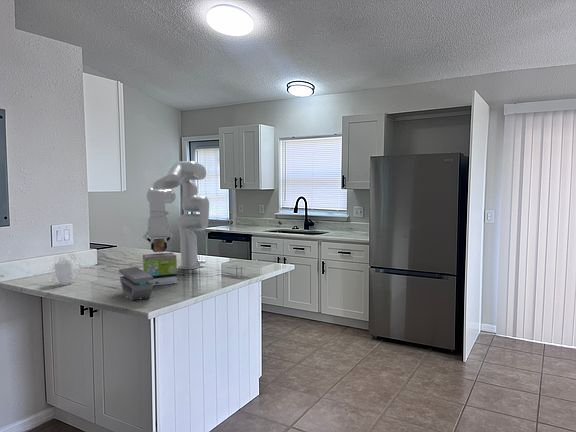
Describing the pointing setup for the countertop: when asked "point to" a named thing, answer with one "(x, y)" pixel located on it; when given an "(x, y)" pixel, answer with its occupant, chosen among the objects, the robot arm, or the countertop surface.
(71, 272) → the mug
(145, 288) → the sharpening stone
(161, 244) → the walnut block
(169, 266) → the tea box
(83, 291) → the countertop surface
